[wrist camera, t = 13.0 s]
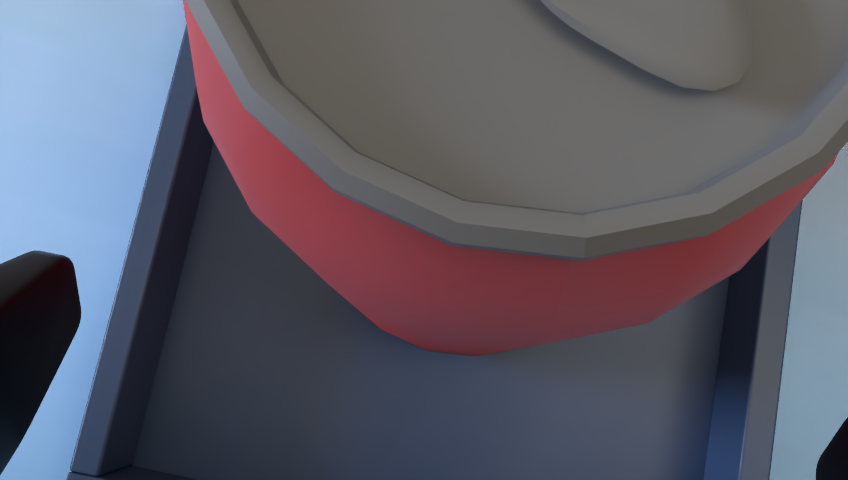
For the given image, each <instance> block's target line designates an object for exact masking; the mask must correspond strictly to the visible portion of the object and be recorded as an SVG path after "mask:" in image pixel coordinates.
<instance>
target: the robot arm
mask: <svg viewBox="0 0 848 480" xmlns="http://www.w3.org/2000/svg"><path fill="white" fill-rule="evenodd" d="M80 319H81V306H80V300H79V294H78V288H77V282H76V275H75V269H74V266H73V263H72V261H71V260H70V259H69V258H68V257H66V256H63V255H58V254H53V253H48V252H43V251H31V252H28V253H25V254H23V255H20V256H18V257H16V258H13V259H11V260H9V261H6V262H4V263H2V264H0V475H1V473H2V472H3V470H4V468H5V467H6V465H7V464H8V462H9V461H10V459H11V457H12V456H13V454H14V453H15V451H16V449H17V448H18V446H19V444H20V443H21V441H22V439H23V437H24V435H25V434H26V432H27V430H28V428H29V426H30V424H31V422H32V420H33V418H34V416H35V414H36V412H37V410H38V408H39V406H40V404H41V402H42V400H43V398H44V396H45V394H46V392H47V390H48V388H49V386H50V384H51V382H52V380H53V378H54V376H55V374H56V372H57V370H58V368H59V366H60V364H61V362H62V360H63V358H64V356H65V354H66V352H67V350H68V348H69V346H70V344H71V342H72V340H73V338H74V336H75V334H76V332H77V329H78V327H79V323H80ZM816 480H848V418H847V419H846V420H845V421H844V423H843V424H842V426H841V427H840V429H839V430H838V432H837V433H836V434H835V436H834V437H833V439H832V440H831V442H830V443H829V445H828V446H827V448H826V449H825V450H824V452H823V453H822V455H821V457H820V459H819V461H818V464H817V469H816Z"/></svg>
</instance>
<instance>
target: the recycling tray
mask: <svg viewBox="0 0 848 480" xmlns="http://www.w3.org/2000/svg"><path fill="white" fill-rule="evenodd" d="M801 206H802V200H801V202H800V203H799V204H798V205H797V206H796V207H795V209H794V210H793V211H792V212H791V213H790V214H789V215H788V217H787V218H786V219H785V220H784V221H783V222H782V224H781V225H780V226H779V227H778V228H777V229H776V230H775V232H774V233H773V234H772V235H771V236H770V237H769V239H768V240H767V241H766V242H765V243H764V244H763V246H762V247H761V248H760V249H759V250H758V251H757V252H756V253H755V254H754V255H753V256H752V258H751V259H750V260H749V261H748V262H747V263H746V264H745V265H744V266H743V267H742V269H741V270H739V271H737V272H736V273H734V274H732V275H730V276H729V277H727V278H725V279H724V280H722V281H720V282H718V283H717V284H715V285H713V286H711V287H710V288H708V289H706V290H704V291H703V292H701V293H699V294H697V295H696V296H694V297H692V298H691V299H689V300H687V301H685V302H684V303H682V304H680V305H678V306H677V307H675V308H673V309H671V310H670V311H668V312H666V313H664V314H663V315H661V316H659V317H658V318H656V319H654V320H652V321H651V322H649V323H647V324H642V325H637V326H632V327H627V328H622V329H617V330H612V331H607V332H602V333H597V334H592V335H587V336H582V337H577V338H572V339H567V340H562V341H557V342H552V343H547V344H542V345H536V346H531V347H525V348H520V349H514V350H508V351H503V352H497V353H492V354H486V355H480V356H466V355H458V354H450V353H442V352H433V351H426V350H424V349H422V348H419V347H417V346H415V345H413V344H411V343H409V342H407V341H404V340H402V339H400V338H398V337H396V336H394V335H392V334H389V333H387V332H385V331H383V330H381V329H380V328H379V327H378V326H377V325H375V324H374V323H373V322H372V321H371V320H370V319H368V318H367V317H366V316H365V315H364V314H363V313H361V312H360V311H359V310H358V309H357V308H355V307H354V306H353V305H352V304H351V303H350V302H348V301H347V300H346V299H345V298H344V297H343V296H341V295H340V294H339V293H338V292H337V291H335V290H334V289H333V288H332V287H331V286H330V285H329V284H327V283H326V282H325V281H324V280H323V279H322V278H321V277H320V276H319V275H318V274H317V273H316V272H315V271H314V270H313V269H312V268H310V267H309V266H308V265H307V264H306V263H305V262H304V261H303V260H302V259H301V258H300V257H299V256H298V255H297V254H296V253H295V252H293V251H292V250H291V249H290V248H289V247H288V246H287V245H286V244H285V243H284V242H283V241H282V240H281V239H280V238H279V237H278V236H276V235H275V234H274V233H273V232H272V231H271V230H270V229H269V228H268V227H267V226H266V225H265V224H264V223H263V222H262V221H261V220H259V219H258V218H257V217H256V216H255V215H254V214H253V213H252V212H251V210H250V208H249V206H248V204H247V202H246V201H245V199H244V197H243V195H242V193H241V191H240V189H239V187H238V185H237V184H236V182H235V180H234V178H233V176H232V174H231V172H230V170H229V169H228V167H227V165H226V163H225V161H224V159H223V157H222V155H221V154H220V152H219V150H218V148H217V146H216V144H215V142H214V140H213V138H212V137H211V135H210V133H209V131H208V129H207V127H206V125H205V123H204V122H203V117H202V112H201V107H200V102H199V98H198V93H197V87H196V81H195V74H194V68H193V62H192V55H191V49H190V42H189V36H188V29H187V24H186V28H185V32H184V36H183V40H182V43H181V47H180V51H179V55H178V59H177V62H176V66H175V70H174V74H173V78H172V82H171V85H170V89H169V93H168V97H167V101H166V104H165V108H164V112H163V116H162V120H161V123H160V127H159V131H158V135H157V139H156V142H155V146H154V150H153V154H152V158H151V161H150V165H149V169H148V173H147V177H146V180H145V184H144V188H143V192H142V196H141V200H140V203H139V207H138V211H137V215H136V219H135V222H134V226H133V230H132V234H131V238H130V241H129V245H128V249H127V253H126V257H125V260H124V264H123V268H122V272H121V276H120V279H119V283H118V287H117V291H116V295H115V298H114V302H113V306H112V310H111V314H110V318H109V321H108V325H107V329H106V333H105V337H104V340H103V344H102V348H101V352H100V356H99V359H98V363H97V367H96V371H95V375H94V378H93V382H92V386H91V390H90V394H89V397H88V401H87V405H86V409H85V413H84V416H83V420H82V424H81V428H80V432H79V436H78V439H77V443H76V447H75V451H74V455H73V458H72V462H71V466H70V470H71V471H72V472H69V473H68V476H67V480H769V477H770V468H771V460H772V451H773V443H774V434H775V426H776V418H777V409H778V401H779V392H780V384H781V375H782V367H783V358H784V350H785V342H786V333H787V325H788V316H789V308H790V299H791V291H792V282H793V274H794V266H795V257H796V249H797V240H798V232H799V223H800V215H801Z"/></svg>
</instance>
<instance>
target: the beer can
mask: <svg viewBox="0 0 848 480" xmlns="http://www.w3.org/2000/svg"><path fill="white" fill-rule="evenodd" d="M183 4H184V10H185V17H186V23H187V29H188V36H189V42H190V49H191V55H192V62H193V68H194V74H195V81H196V87H197V93H198V98H199V102H200V107H201V112H202V117H203V122H204V123H205V125H206V127H207V129H208V131H209V133H210V135H211V137H212V138H213V140H214V142H215V144H216V146H217V148H218V150H219V152H220V154H221V155H222V157H223V159H224V161H225V163H226V165H227V167H228V169H229V170H230V172H231V174H232V176H233V178H234V180H235V182H236V184H237V185H238V187H239V189H240V191H241V193H242V195H243V197H244V199H245V201H246V202H247V204H248V206H249V208H250V210H251V212H252V213H253V214H254V215H255V216H256V217H257V218H258V219H259V220H261V221H262V222H263V223H264V224H265V225H266V226H267V227H268V228H269V229H270V230H271V231H272V232H273V233H274V234H275V235H276V236H278V237H279V238H280V239H281V240H282V241H283V242H284V243H285V244H286V245H287V246H288V247H289V248H290V249H291V250H292V251H293V252H295V253H296V254H297V255H298V256H299V257H300V258H301V259H302V260H303V261H304V262H305V263H306V264H307V265H308V266H309V267H310V268H312V269H313V270H314V271H315V272H316V273H317V274H318V275H319V276H320V277H321V278H322V279H323V280H324V281H325V282H326V283H327V284H329V285H330V286H331V287H332V288H333V289H334V290H335V291H337V292H338V293H339V294H340V295H341V296H343V297H344V298H345V299H346V300H347V301H348V302H350V303H351V304H352V305H353V306H354V307H355V308H357V309H358V310H359V311H360V312H361V313H363V314H364V315H365V316H366V317H367V318H368V319H370V320H371V321H372V322H373V323H374V324H375V325H377V326H378V327H379V328H380V329H381V330H383V331H385V332H387V333H389V334H392V335H394V336H396V337H398V338H400V339H402V340H404V341H407V342H409V343H411V344H413V345H415V346H417V347H419V348H422V349H424V350H426V351H433V352H442V353H450V354H458V355H466V356H480V355H486V354H492V353H497V352H503V351H508V350H514V349H520V348H525V347H531V346H536V345H542V344H547V343H552V342H557V341H562V340H567V339H572V338H577V337H582V336H587V335H592V334H597V333H602V332H607V331H612V330H617V329H622V328H627V327H632V326H637V325H642V324H647V323H649V322H651V321H652V320H654V319H656V318H658V317H659V316H661V315H663V314H664V313H666V312H668V311H670V310H671V309H673V308H675V307H677V306H678V305H680V304H682V303H684V302H685V301H687V300H689V299H691V298H692V297H694V296H696V295H697V294H699V293H701V292H703V291H704V290H706V289H708V288H710V287H711V286H713V285H715V284H717V283H718V282H720V281H722V280H724V279H725V278H727V277H729V276H730V275H732V274H734V273H736V272H737V271H739V270H741V269H742V267H743V266H744V265H745V264H746V263H747V262H748V261H749V260H750V259H751V258H752V256H753V255H754V254H755V253H756V252H757V251H758V250H759V249H760V248H761V247H762V246H763V244H764V243H765V242H766V241H767V240H768V239H769V237H770V236H771V235H772V234H773V233H774V232H775V230H776V229H777V228H778V227H779V226H780V225H781V224H782V222H783V221H784V220H785V219H786V218H787V217H788V215H789V214H790V213H791V212H792V211H793V210H794V209H795V207H796V206H797V205H798V204H799V203H800V202H801V200H802V199H803V198H804V197H805V196H806V195H807V193H808V192H809V191H810V190H811V189H812V188H813V187H814V185H815V184H816V183H817V182H818V181H819V180H820V178H821V177H822V176H823V175H824V174H825V173H826V172H827V170H828V169H829V168H830V167H831V166H832V165H833V163H834V161H835V159H836V156H837V154H838V152H839V151H840V149H841V148H842V147H843V146H844V145H845V144H846V142H847V141H848V0H183Z"/></svg>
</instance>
